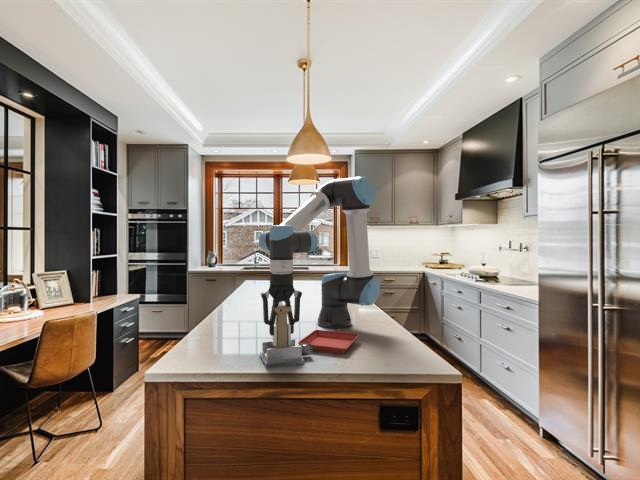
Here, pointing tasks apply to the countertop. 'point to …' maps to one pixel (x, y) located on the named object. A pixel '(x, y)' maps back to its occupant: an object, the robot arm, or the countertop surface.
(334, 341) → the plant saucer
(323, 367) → the countertop surface
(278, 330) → the handle
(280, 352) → the valve body
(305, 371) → the countertop surface
